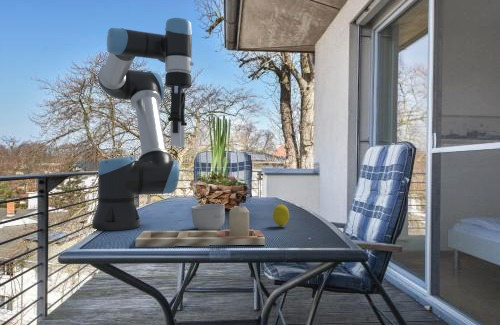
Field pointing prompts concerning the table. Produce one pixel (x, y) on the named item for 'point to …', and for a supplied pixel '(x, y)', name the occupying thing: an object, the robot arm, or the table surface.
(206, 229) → the teacup
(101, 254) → the table surface
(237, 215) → the candle
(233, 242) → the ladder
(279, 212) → the lemon
